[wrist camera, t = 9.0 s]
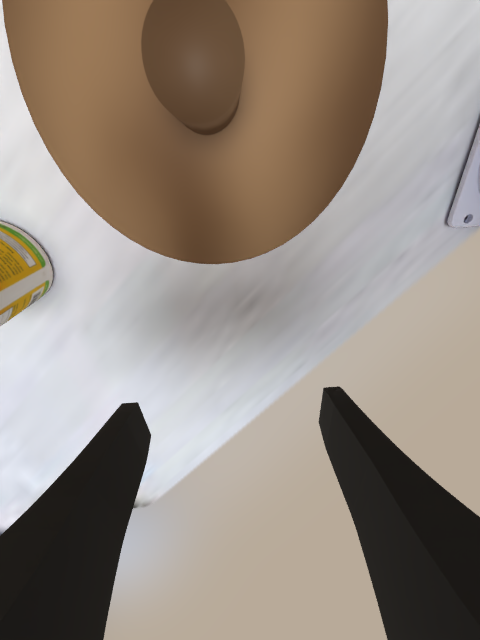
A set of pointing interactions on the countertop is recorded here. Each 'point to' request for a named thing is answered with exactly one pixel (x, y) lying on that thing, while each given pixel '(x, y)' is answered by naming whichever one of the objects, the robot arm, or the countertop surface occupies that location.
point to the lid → (202, 111)
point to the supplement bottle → (21, 271)
